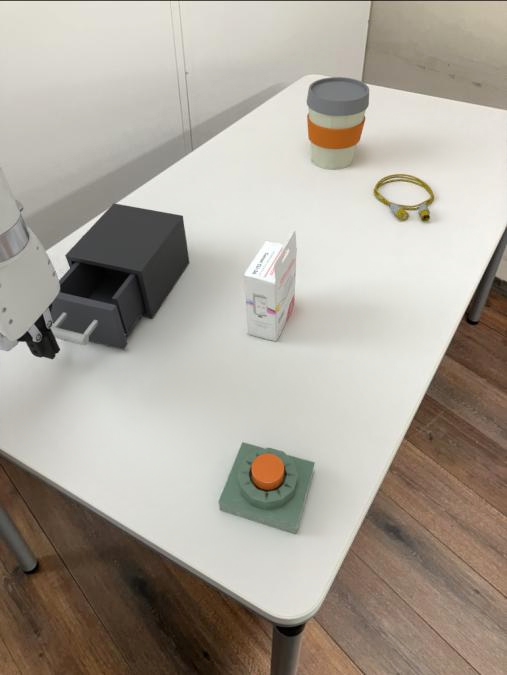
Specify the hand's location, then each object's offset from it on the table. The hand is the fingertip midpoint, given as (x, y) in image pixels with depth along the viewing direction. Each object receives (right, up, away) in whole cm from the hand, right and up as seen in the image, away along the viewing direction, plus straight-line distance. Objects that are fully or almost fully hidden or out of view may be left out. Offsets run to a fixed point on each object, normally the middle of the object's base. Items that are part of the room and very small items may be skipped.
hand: (47, 352), depth 66 cm
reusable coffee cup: (+44, +41, +47) cm, 76 cm away
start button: (+28, -14, -9) cm, 33 cm away
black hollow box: (+7, +11, +20) cm, 24 cm away
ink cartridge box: (+29, +4, +13) cm, 33 cm away
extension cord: (+56, +29, +35) cm, 73 cm away
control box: (+28, -16, -6) cm, 33 cm away
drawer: (+4, +5, +12) cm, 14 cm away
